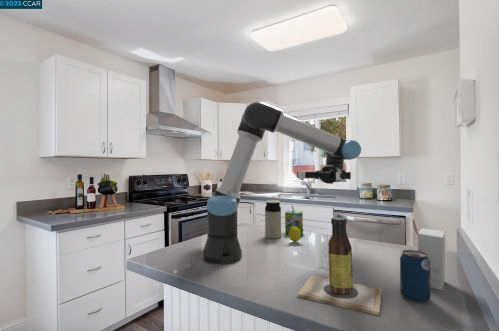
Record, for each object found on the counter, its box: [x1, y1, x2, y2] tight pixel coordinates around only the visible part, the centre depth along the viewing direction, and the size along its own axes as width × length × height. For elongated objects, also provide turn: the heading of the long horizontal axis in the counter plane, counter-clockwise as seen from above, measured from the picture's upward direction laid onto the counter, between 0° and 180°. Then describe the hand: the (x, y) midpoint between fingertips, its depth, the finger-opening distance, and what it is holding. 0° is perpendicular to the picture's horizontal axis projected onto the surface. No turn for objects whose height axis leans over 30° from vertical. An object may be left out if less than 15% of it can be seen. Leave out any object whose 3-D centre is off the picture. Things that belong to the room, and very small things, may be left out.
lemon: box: [286, 223, 304, 243], centre depth 126 cm, size 7×6×10 cm
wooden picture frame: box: [297, 275, 383, 316], centre depth 75 cm, size 20×14×1 cm
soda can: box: [399, 249, 432, 304], centre depth 73 cm, size 7×7×12 cm
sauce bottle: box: [327, 216, 354, 294], centre depth 75 cm, size 7×6×20 cm
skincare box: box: [417, 227, 446, 291], centre depth 82 cm, size 8×7×16 cm
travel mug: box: [264, 199, 282, 240], centre depth 137 cm, size 8×8×18 cm
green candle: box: [284, 204, 304, 236], centre depth 144 cm, size 9×9×15 cm
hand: (317, 175), depth 97 cm, fingers open, 13 cm apart
